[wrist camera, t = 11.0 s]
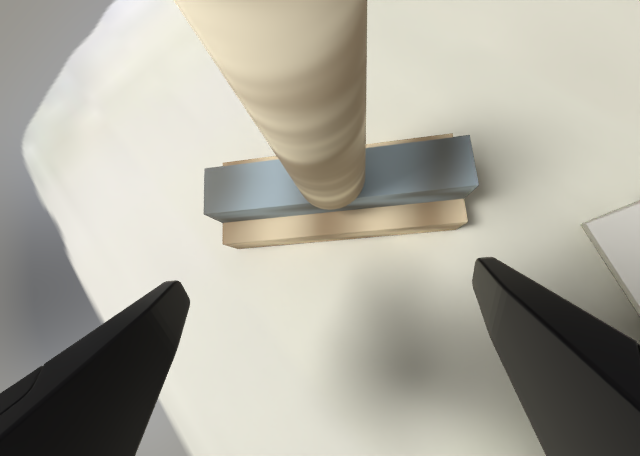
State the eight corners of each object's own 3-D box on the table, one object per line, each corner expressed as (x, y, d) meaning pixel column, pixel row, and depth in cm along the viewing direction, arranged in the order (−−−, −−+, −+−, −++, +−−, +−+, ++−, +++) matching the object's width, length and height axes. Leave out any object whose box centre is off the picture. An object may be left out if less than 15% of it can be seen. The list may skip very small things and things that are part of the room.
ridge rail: (442, 150, 22) (465, 111, 17) (455, 229, 21) (483, 211, 16) (237, 175, 24) (205, 147, 19) (237, 248, 23) (203, 238, 18)
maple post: (340, 222, 17) (270, 25, 4) (284, 187, 18) (89, -61, 5) (378, 165, 17) (418, -176, 5) (322, 134, 18) (224, -221, 5)
